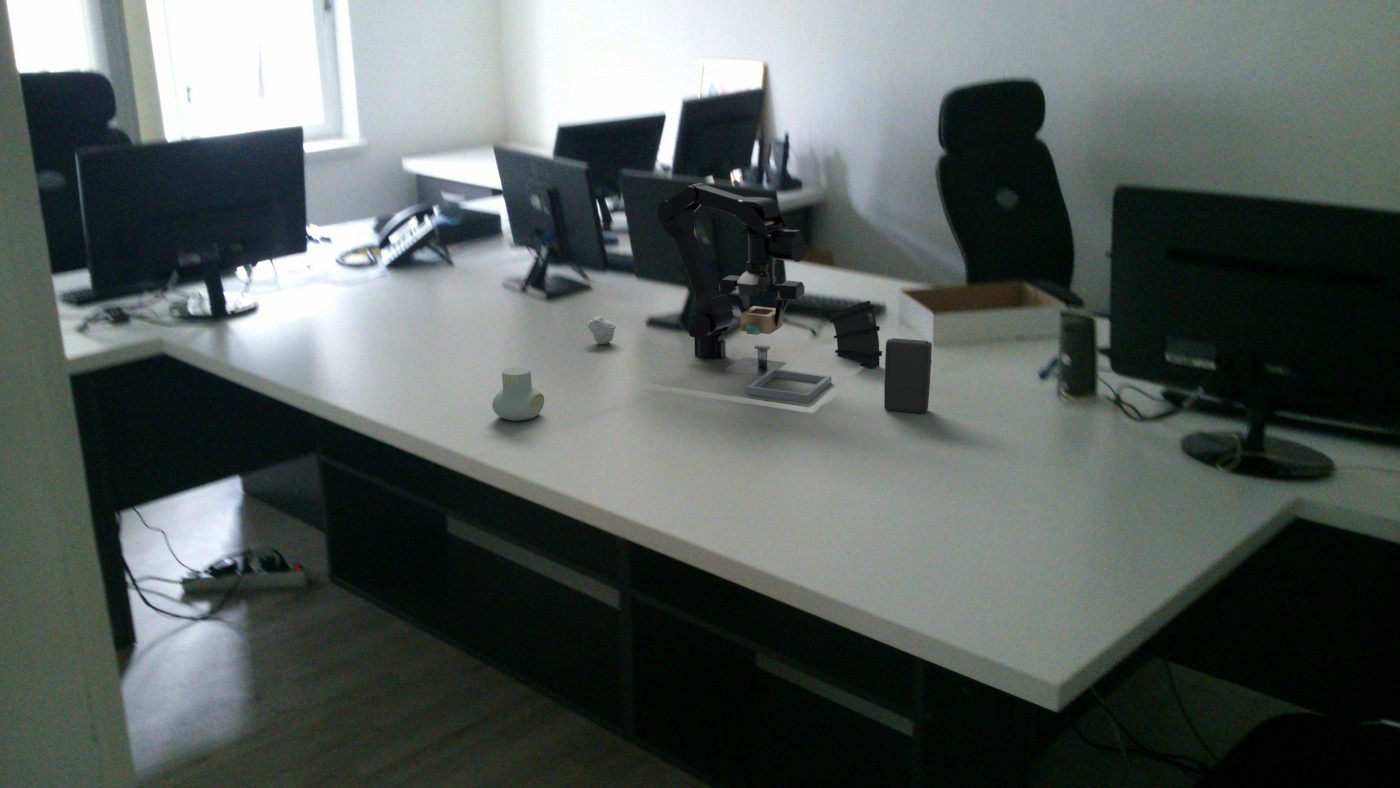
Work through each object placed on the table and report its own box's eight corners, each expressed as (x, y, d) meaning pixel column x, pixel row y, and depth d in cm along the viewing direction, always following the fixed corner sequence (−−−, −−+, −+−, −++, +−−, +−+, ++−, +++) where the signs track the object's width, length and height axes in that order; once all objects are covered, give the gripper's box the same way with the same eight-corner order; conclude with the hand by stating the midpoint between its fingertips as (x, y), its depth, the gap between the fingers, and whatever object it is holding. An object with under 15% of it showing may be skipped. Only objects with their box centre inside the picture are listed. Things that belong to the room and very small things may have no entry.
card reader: (930, 409, 248) (933, 339, 243) (927, 415, 245) (930, 345, 240) (886, 404, 251) (889, 336, 246) (882, 411, 248) (885, 341, 243)
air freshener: (524, 427, 242) (521, 380, 239) (488, 423, 245) (485, 377, 242) (549, 410, 252) (546, 364, 249) (514, 406, 255) (511, 361, 251)
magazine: (881, 365, 271) (861, 302, 271) (841, 377, 282) (822, 316, 282) (891, 362, 273) (872, 299, 274) (852, 374, 284) (833, 313, 284)
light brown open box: (737, 332, 268) (737, 315, 266) (753, 322, 275) (753, 306, 274) (767, 336, 265) (767, 318, 263) (782, 326, 272) (782, 309, 271)
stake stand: (723, 374, 272) (723, 349, 270) (743, 361, 282) (743, 337, 280) (767, 380, 268) (767, 355, 266) (786, 366, 277) (786, 342, 275)
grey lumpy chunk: (588, 341, 299) (587, 314, 297) (616, 339, 300) (615, 312, 298) (588, 348, 294) (587, 320, 291) (617, 346, 294) (616, 319, 292)
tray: (746, 397, 257) (746, 386, 256) (772, 378, 269) (772, 368, 268) (807, 406, 251) (807, 395, 250) (831, 387, 263) (831, 376, 262)
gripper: (707, 260, 262) (708, 328, 267) (786, 267, 254) (786, 337, 259) (729, 250, 272) (730, 316, 277) (805, 256, 264) (805, 324, 269)
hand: (761, 324), depth 270 cm, fingers closed on light brown open box, 7 cm apart
